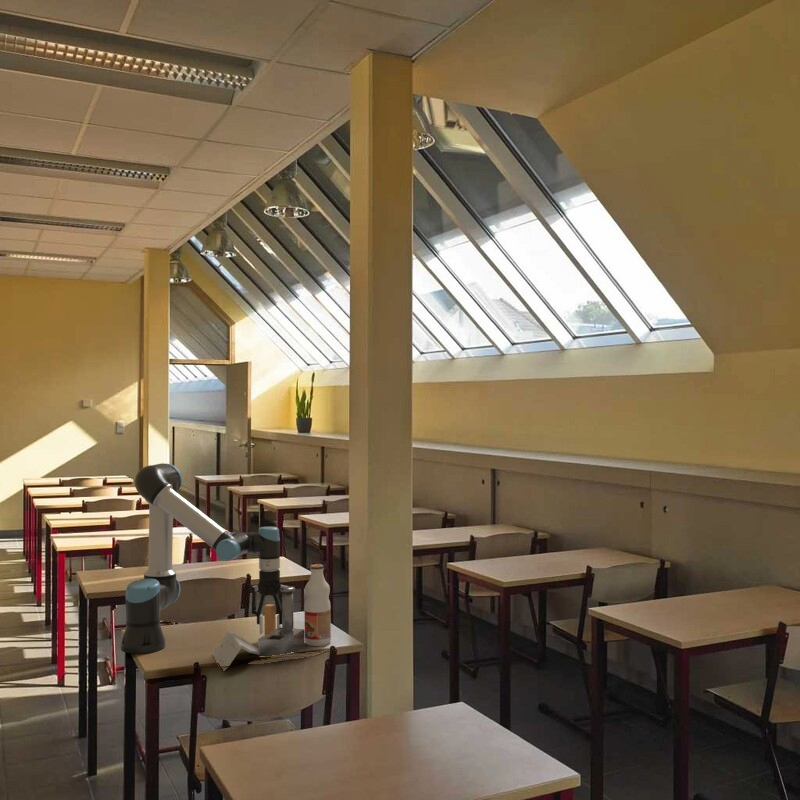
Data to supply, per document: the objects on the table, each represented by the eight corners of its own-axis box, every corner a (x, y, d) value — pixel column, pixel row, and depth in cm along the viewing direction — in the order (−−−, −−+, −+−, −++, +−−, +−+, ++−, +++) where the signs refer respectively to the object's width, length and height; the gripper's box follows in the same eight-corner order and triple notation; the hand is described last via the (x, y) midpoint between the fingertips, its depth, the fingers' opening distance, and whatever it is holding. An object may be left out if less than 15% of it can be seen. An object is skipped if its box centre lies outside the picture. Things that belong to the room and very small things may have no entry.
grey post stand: (258, 656, 282) (257, 595, 282) (279, 644, 297) (278, 585, 297) (285, 659, 279) (284, 596, 279) (304, 646, 294) (303, 587, 294)
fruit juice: (330, 646, 293) (329, 567, 294) (304, 647, 293) (303, 568, 293) (331, 639, 303) (330, 562, 303) (305, 639, 302) (304, 563, 302)
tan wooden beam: (264, 641, 300) (264, 605, 300) (268, 639, 303) (268, 604, 303) (272, 642, 299) (271, 606, 300) (275, 640, 302) (275, 604, 302)
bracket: (240, 644, 268) (228, 629, 287) (222, 671, 266) (211, 655, 284) (272, 664, 272) (258, 648, 291) (254, 691, 270) (242, 674, 288)
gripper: (241, 571, 298) (242, 635, 298) (293, 571, 297) (293, 635, 297) (246, 567, 306) (247, 630, 305) (296, 567, 305) (297, 630, 305)
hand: (270, 632), depth 301 cm, fingers open, 6 cm apart
